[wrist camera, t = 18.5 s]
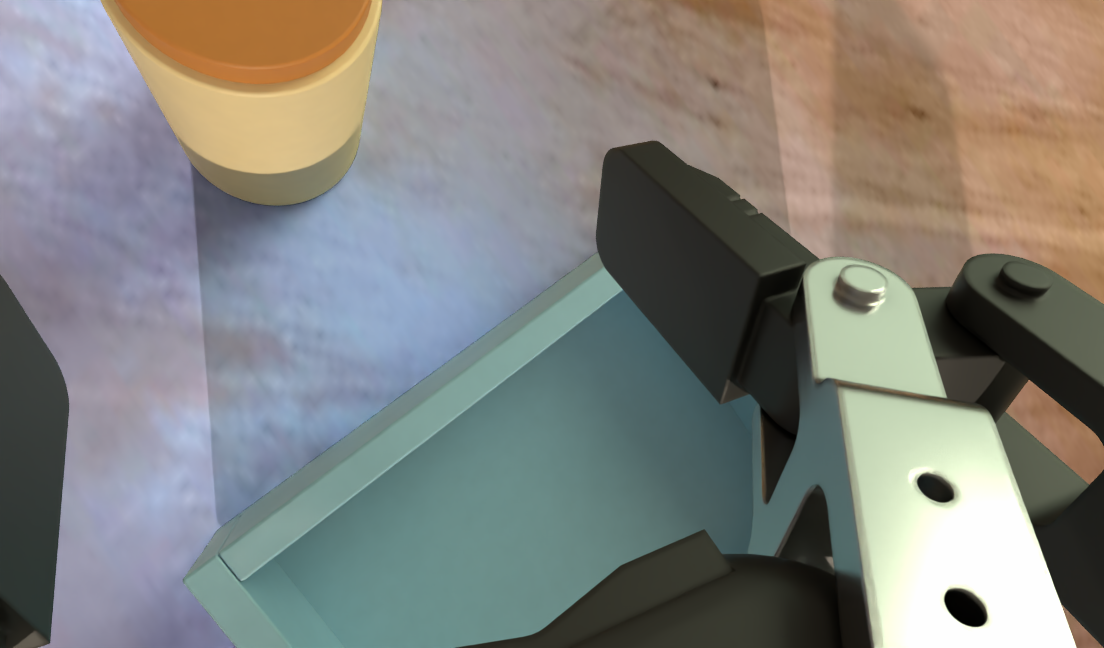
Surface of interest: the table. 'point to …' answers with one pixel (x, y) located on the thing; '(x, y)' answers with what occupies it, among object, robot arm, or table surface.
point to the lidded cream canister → (257, 86)
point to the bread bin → (491, 489)
